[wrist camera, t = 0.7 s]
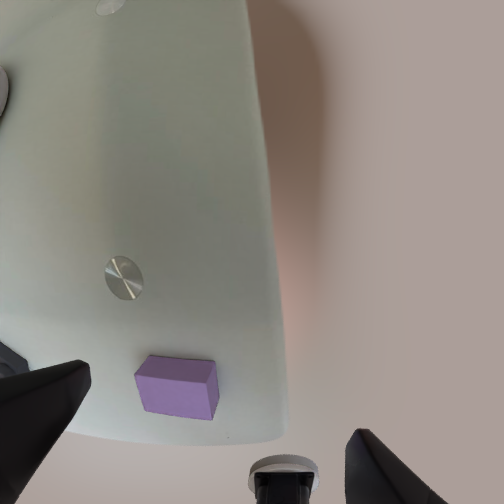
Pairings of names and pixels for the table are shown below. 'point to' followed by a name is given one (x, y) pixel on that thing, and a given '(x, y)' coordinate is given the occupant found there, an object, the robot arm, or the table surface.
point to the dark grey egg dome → (3, 89)
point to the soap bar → (178, 387)
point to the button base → (11, 362)
